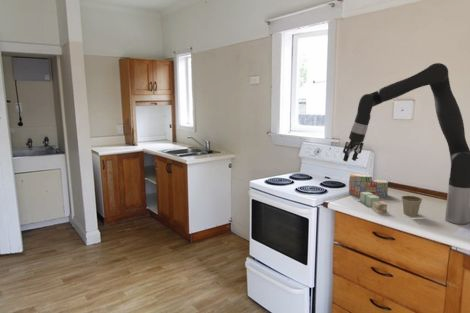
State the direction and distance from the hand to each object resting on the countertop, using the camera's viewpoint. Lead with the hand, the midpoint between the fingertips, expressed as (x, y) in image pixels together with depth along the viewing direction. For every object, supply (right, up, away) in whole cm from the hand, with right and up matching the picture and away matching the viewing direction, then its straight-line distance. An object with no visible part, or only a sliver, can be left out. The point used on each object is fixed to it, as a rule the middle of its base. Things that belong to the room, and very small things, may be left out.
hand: (349, 160), depth 180 cm
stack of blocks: (+18, -22, +22) cm, 36 cm away
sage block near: (+13, -24, +1) cm, 27 cm away
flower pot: (+26, -27, -13) cm, 40 cm away
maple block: (+13, -26, -8) cm, 30 cm away
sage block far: (+12, -23, +7) cm, 27 cm away
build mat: (+13, -24, +4) cm, 28 cm away
